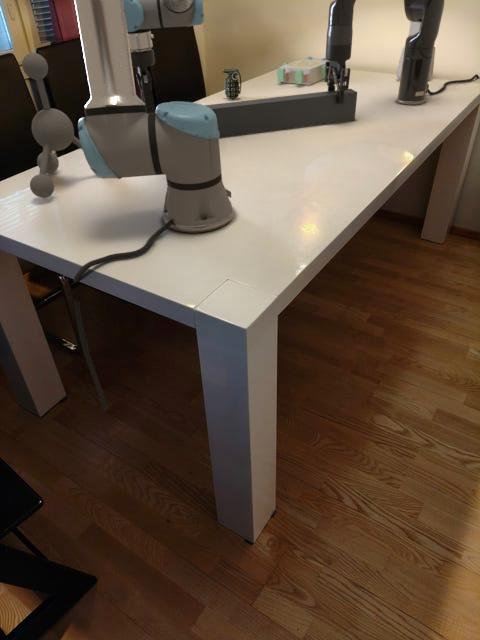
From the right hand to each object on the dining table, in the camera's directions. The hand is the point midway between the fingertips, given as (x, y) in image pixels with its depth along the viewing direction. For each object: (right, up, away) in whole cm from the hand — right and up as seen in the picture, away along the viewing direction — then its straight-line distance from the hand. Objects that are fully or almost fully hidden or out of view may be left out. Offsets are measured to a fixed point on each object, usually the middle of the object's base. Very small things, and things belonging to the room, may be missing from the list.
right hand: (335, 100), depth 155 cm
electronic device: (+40, +27, +42) cm, 64 cm away
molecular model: (-74, -33, -26) cm, 85 cm away
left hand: (-57, -13, -8) cm, 59 cm away
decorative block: (-3, +33, +52) cm, 62 cm away
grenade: (-33, +15, +32) cm, 48 cm away
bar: (-28, -10, -1) cm, 30 cm away
